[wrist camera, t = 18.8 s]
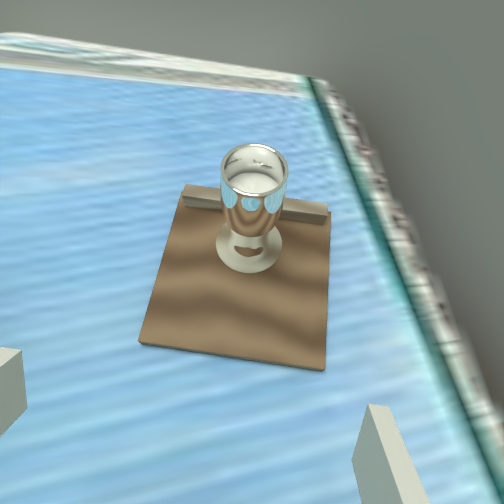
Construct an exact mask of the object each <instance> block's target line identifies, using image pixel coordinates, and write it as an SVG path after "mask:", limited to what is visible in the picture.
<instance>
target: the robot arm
mask: <svg viewBox="0 0 504 504" xmlns="http://www.w3.org/2000/svg"><path fill="white" fill-rule="evenodd" d="M26 409H27V400H26V390H25V380H24V370H23V360H22V350H18V349H12V348H5V347H1V348H0V436H1V435H2V434H3V433H4V432H5V431H6V430H7V429H8V428H9V427H10V426H11V425H12V424H13V423H14V422H15V421H16V420H17V419H18V418H19V416H20V415H21V414H22V413H23V412H24V411H25V410H26ZM352 464H353V468H354V472H355V476H356V481H357V485H358V489H359V493H360V497H361V502H362V504H430V502H429V500H428V497H427V495H426V493H425V490H424V488H423V486H422V483H421V481H420V479H419V476H418V474H417V472H416V469H415V467H414V465H413V462H412V460H411V458H410V455H409V453H408V451H407V448H406V446H405V444H404V441H403V439H402V437H401V434H400V432H399V430H398V427H397V425H396V423H395V420H394V418H393V416H392V413H391V411H390V409H389V407H387V406H381V405H374V404H368V405H367V408H366V412H365V415H364V419H363V422H362V426H361V429H360V432H359V436H358V439H357V443H356V446H355V450H354V453H353V457H352Z"/></svg>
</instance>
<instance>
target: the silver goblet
mask: <svg viewBox="0 0 504 504" xmlns="http://www.w3.org/2000/svg"><path fill="white" fill-rule="evenodd" d="M287 177H288V165H287V162H286V160H285V158H284V157H283V156H282V155H281V154H280V153H279V152H278V151H277V150H275V149H274V148H272V147H269V146H267V145H263V144H258V143H249V144H243V145H240V146H237V147H235V148H233V149H232V150H230V151H229V152H228V153H227V154H226V155H225V157H224V158H223V160H222V163H221V177H220V199H221V207H222V210H223V214H224V217H225V220H226V222H227V225H228V227H229V233H228V237H227V248H228V250H229V252H230V253H231V255H232V256H233V257H234V258H236V259H237V260H239V261H242V262H246V263H253V262H257V261H260V260H262V259H263V258H265V257H266V256H267V255H268V253H269V252H270V249H271V246H272V239H271V231H272V229H273V228H274V226H275V224H276V222H277V221H278V219H279V216H280V214H281V212H282V209H283V205H284V202H285V196H286V189H287Z"/></svg>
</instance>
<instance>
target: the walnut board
mask: <svg viewBox="0 0 504 504" xmlns="http://www.w3.org/2000/svg"><path fill="white" fill-rule="evenodd" d="M330 224H331V212H329V211H328V204H327V203H320V202H313V201H305V200H298V199H291V198H285V202H284V205H283V209H282V212H281V214H280V216H279V219H278V221H277V222H276V224H275V226H274V228H273V229H272V231H271V239H272V246H271V249H270V252H269V253H268V255H267V256H266V257H265V258H263V259H262V260H260V261H257V262H253V263H246V262H242V261H239V260H237V259H236V258H234V257H233V256H232V255H231V253H230V252H229V250H228V248H227V237H228V233H229V227H228V225H227V222H226V220H225V217H224V214H223V210H222V207H221V199H220V189H218V188H211V187H204V186H197V185H189V184H185V187H184V190H183V191H182V192H181V195H180V199H179V202H178V206H177V209H176V212H175V216H174V219H173V223H172V226H171V229H170V233H169V236H168V240H167V243H166V247H165V250H164V253H163V257H162V260H161V264H160V267H159V270H158V274H157V277H156V281H155V284H154V287H153V291H152V294H151V298H150V301H149V304H148V308H147V311H146V315H145V318H144V322H143V325H142V328H141V332H140V335H139V339H138V342H140V343H141V344H146V345H153V346H160V347H166V348H173V349H179V350H186V351H192V352H199V353H206V354H212V355H219V356H225V357H232V358H238V359H245V360H252V361H258V362H265V363H271V364H278V365H284V366H291V367H298V368H304V369H311V370H317V371H323V370H325V354H326V328H327V302H328V276H329V250H330Z"/></svg>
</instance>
